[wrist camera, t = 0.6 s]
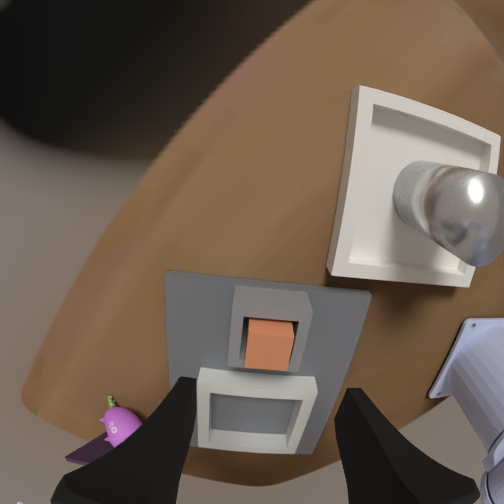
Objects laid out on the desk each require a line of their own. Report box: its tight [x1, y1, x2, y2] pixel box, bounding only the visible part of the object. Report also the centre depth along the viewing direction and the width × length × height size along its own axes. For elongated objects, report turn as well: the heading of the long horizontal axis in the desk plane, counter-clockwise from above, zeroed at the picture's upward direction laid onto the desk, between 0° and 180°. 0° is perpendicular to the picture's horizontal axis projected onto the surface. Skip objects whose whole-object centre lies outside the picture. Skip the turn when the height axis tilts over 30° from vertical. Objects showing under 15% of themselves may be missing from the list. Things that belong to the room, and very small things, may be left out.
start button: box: [244, 317, 294, 371], centre depth 15 cm, size 2×2×2 cm
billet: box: [393, 160, 504, 267], centre depth 13 cm, size 4×4×6 cm
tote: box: [326, 85, 501, 287], centre depth 15 cm, size 10×10×1 cm
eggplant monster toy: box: [65, 396, 142, 465], centre depth 19 cm, size 7×5×9 cm
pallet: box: [165, 270, 372, 454], centre depth 19 cm, size 12×16×3 cm
